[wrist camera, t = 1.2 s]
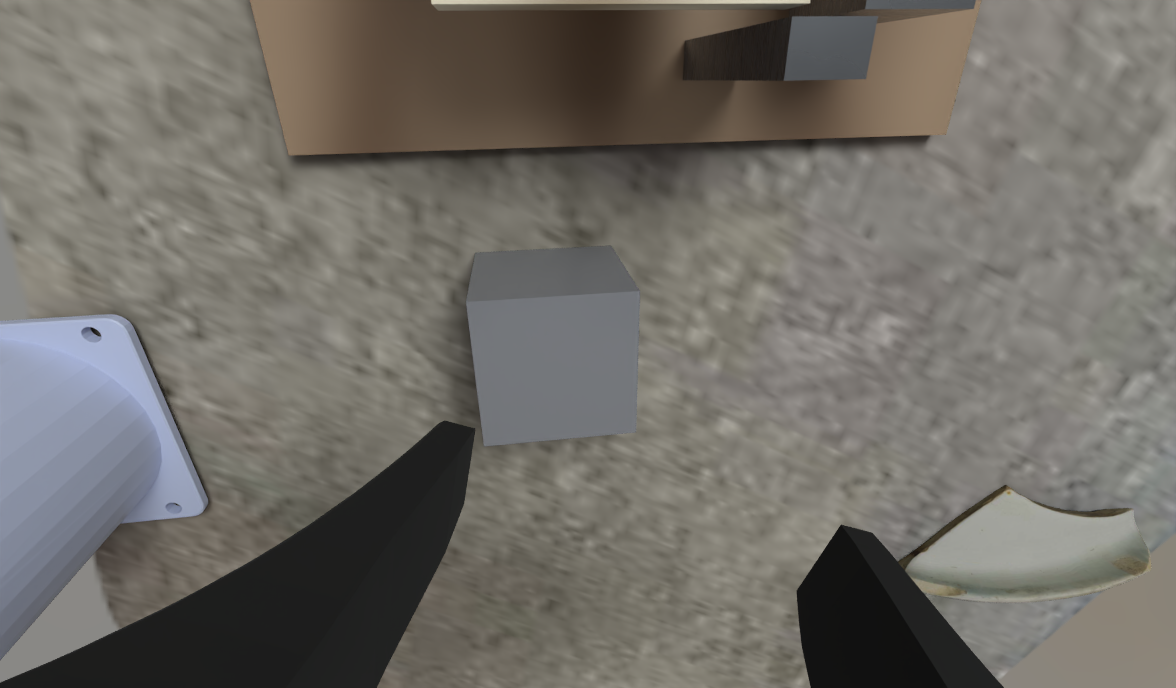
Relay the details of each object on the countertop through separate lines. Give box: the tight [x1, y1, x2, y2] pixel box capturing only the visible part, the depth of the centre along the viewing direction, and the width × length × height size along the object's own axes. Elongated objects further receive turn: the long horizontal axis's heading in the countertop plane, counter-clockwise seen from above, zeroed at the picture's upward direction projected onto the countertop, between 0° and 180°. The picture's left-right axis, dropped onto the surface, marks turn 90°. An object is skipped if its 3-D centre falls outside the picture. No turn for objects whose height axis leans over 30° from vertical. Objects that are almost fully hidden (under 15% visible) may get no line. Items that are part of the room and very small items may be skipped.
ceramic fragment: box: [898, 485, 1151, 603], centre depth 26 cm, size 14×5×4 cm, turn 94°
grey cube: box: [466, 246, 640, 446], centre depth 17 cm, size 4×4×4 cm
